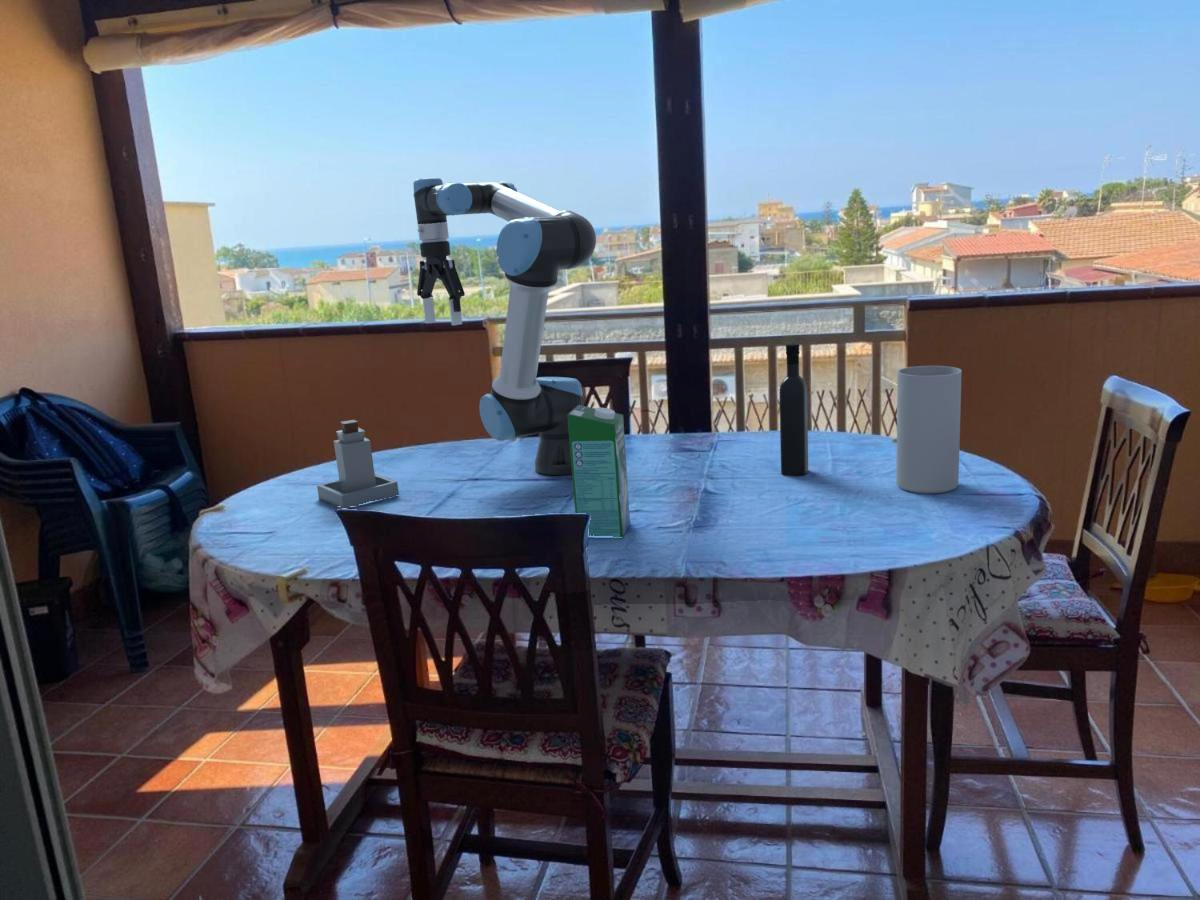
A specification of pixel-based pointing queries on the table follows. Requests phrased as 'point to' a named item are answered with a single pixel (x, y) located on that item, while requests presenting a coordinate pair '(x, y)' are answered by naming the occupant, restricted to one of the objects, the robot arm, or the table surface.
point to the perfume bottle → (354, 458)
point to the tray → (357, 493)
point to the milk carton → (599, 469)
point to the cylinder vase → (928, 428)
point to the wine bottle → (793, 417)
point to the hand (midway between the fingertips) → (443, 323)
